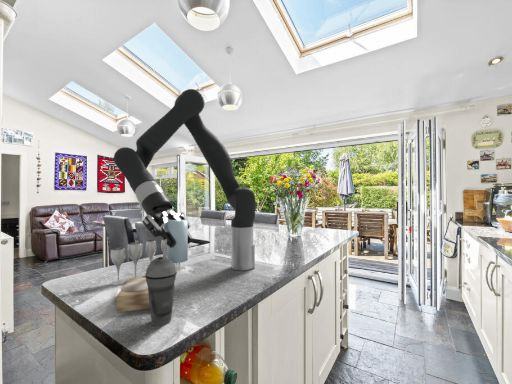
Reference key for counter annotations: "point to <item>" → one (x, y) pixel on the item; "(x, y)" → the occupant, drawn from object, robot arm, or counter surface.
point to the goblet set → (135, 255)
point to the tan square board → (133, 295)
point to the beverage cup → (161, 288)
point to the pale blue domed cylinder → (178, 241)
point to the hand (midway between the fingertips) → (182, 243)
